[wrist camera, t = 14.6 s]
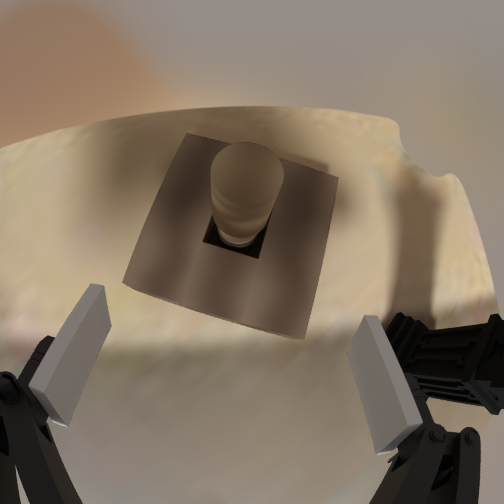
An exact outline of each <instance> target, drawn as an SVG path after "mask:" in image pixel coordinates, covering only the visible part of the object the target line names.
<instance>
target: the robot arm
mask: <svg viewBox="0 0 504 504" xmlns="http://www.w3.org/2000/svg"><path fill="white" fill-rule="evenodd" d="M110 329H111V321H110V316H109V311H108V306H107V300H106V295H105V289H104V286H103V285H97V284H92V283H91V284H90V285H89V287H88V288H87V290H86V291H85V293H84V294H83V296H82V297H81V298H80V300H79V301H78V303H77V304H76V306H75V307H74V309H73V311H72V312H71V314H70V315H69V317H68V318H67V320H66V321H65V323H64V325H63V326H62V328H61V329H60V331H59V333H58V334H57V336H56V337H51V336H46V337H45V338H44V339H43V340H41V341H40V342H39V344H38V345H37V347H36V349H35V350H34V352H33V354H32V355H31V358H30V359H29V360H28V362H27V364H26V365H25V367H24V369H23V371H22V372H21V374H20V376H19V378H18V380H17V379H16V377H15V376H14V375H13V374H12V373H10V372H7V371H4V372H0V504H21V502H20V496H19V490H18V484H17V476H16V468H17V471H18V474H19V477H20V480H21V482H22V485H23V488H24V490H25V493H26V496H27V498H28V500H29V503H30V504H83V503H82V501H81V499H80V498H79V496H78V494H77V492H76V490H75V488H74V486H73V484H72V482H71V480H70V477H69V475H68V473H67V471H66V469H65V467H64V464H63V462H62V460H61V457H60V455H59V452H58V450H57V447H56V445H55V442H54V440H53V437H52V434H51V431H50V429H49V426H48V424H47V422H46V421H47V418H48V416H49V417H50V418H51V419H52V421H53V422H55V423H57V424H60V425H62V426H65V427H68V426H69V423H70V421H71V418H72V415H73V413H74V410H75V408H76V405H77V403H78V400H79V398H80V395H81V393H82V390H83V388H84V386H85V383H86V381H87V379H88V376H89V374H90V372H91V369H92V367H93V365H94V363H95V360H96V358H97V356H98V354H99V352H100V350H101V347H102V345H103V343H104V341H105V339H106V337H107V335H108V333H109V331H110ZM347 354H348V357H349V360H350V363H351V367H352V370H353V373H354V376H355V380H356V383H357V386H358V390H359V393H360V397H361V400H362V404H363V407H364V411H365V414H366V418H367V422H368V425H369V429H370V433H371V437H372V441H373V444H374V448H375V452H376V455H379V454H385V453H390V452H391V451H393V450H394V449H395V448H396V447H397V448H398V453H397V454H395V455H394V456H393V457H392V458H391V459H389V461H388V463H390V462H391V461H392V463H391V465H390V467H389V469H388V471H387V473H386V475H385V477H384V479H383V481H382V482H381V484H380V486H379V488H378V489H377V491H376V493H375V495H374V496H373V498H372V500H371V501H370V503H369V504H478V497H479V485H480V462H481V456H480V455H481V450H480V449H481V448H480V447H481V446H480V445H481V443H480V435H479V434H478V432H477V431H476V430H475V429H474V428H472V427H466V428H464V429H463V430H462V431H461V432H460V433H456V432H447V431H446V430H445V429H444V427H442V426H441V425H439V424H436V423H434V421H433V418H432V416H431V413H430V411H429V408H428V406H427V404H426V401H425V399H424V398H423V394H422V392H421V391H420V387H419V385H418V383H417V380H416V379H415V378H414V377H413V376H412V375H411V374H410V373H403V372H402V369H401V367H400V365H399V362H398V360H397V358H396V356H395V353H394V351H393V349H392V347H391V345H390V342H389V340H388V338H387V336H386V334H385V332H384V330H383V327H382V325H381V323H380V321H379V319H378V317H377V316H370V315H364V317H363V319H362V321H361V324H360V326H359V328H358V330H357V332H356V334H355V336H354V338H353V340H352V342H351V344H350V346H349V348H348V350H347ZM15 465H16V468H15Z"/></svg>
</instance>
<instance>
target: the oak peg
mask: <svg viewBox="0 0 504 504" xmlns="http://www.w3.org/2000/svg"><path fill="white" fill-rule="evenodd" d="M283 179H284V170H283V166H282V164H281V162H280V160H279V158H278V157H277V156H276V155H275V154H274V153H273V152H272V151H271V150H269V149H268V148H266V147H264V146H262V145H259V144H256V143H250V142H241V143H235V144H232V145H229V146H227V147H225V148H224V149H222V150H221V151H220V152H219V153H218V154H217V155H216V157H215V158H214V160H213V162H212V165H211V195H212V214H213V219H214V221H215V224H216V225H217V230H218V238H219V240H220V242H221V244H222V245H223V246H224V247H225V248H226V249H227V250H230V251H234V252H237V253H240V252H243V251H244V250H246V249H247V248H249V247H250V246H251V245H252V244H253V243H254V241H255V239H256V236H257V234H258V233H259V232H260V231H261V230H262V229H263V228H264V226H265V225H266V223H267V221H268V218H269V216H270V213H271V211H272V208H273V206H274V203H275V201H276V198H277V196H278V193H279V191H280V189H281V186H282V183H283Z"/></svg>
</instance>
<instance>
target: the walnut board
mask: <svg viewBox="0 0 504 504" xmlns="http://www.w3.org/2000/svg"><path fill="white" fill-rule="evenodd" d="M229 145H232V144H229V143H225V142H221V141H217V140H213V139H209V138H205V137H201V136H197V135H192V134H188V133H187V134H186V136H185V138H184V140H183V142H182V143H181V145H180V147H179V149H178V151H177V153H176V155H175V157H174V159H173V162H172V164H171V166H170V168H169V170H168V172H167V174H166V176H165V178H164V180H163V183H162V185H161V187H160V189H159V191H158V194H157V196H156V198H155V200H154V203H153V205H152V207H151V210H150V212H149V214H148V217H147V219H146V221H145V224H144V226H143V229H142V231H141V234H140V236H139V239H138V241H137V244H136V246H135V249H134V252H133V254H132V257H131V260H130V262H129V265H128V268H127V270H126V273H125V276H124V279H123V282H122V283H124V284H125V285H127V286H129V287H131V288H132V289H134V290H137V291H139V292H142V293H145V294H148V295H150V296H153V297H156V298H159V299H162V300H165V301H168V302H170V303H173V304H176V305H179V306H182V307H185V308H188V309H191V310H195V311H198V312H201V313H204V314H207V315H210V316H213V317H217V318H220V319H223V320H227V321H230V322H233V323H237V324H240V325H243V326H247V327H250V328H254V329H257V330H261V331H265V332H268V333H272V334H276V335H279V336H283V337H287V338H291V339H304V338H305V334H306V330H307V326H308V322H309V318H310V314H311V310H312V306H313V302H314V298H315V294H316V289H317V285H318V281H319V276H320V272H321V267H322V262H323V258H324V253H325V248H326V243H327V238H328V233H329V228H330V223H331V218H332V212H333V207H334V201H335V196H336V190H337V184H338V177H335V176H332V175H329V174H326V173H324V172H321V171H318V170H315V169H312V168H309V167H306V166H303V165H300V164H297V163H294V162H291V161H288V160H284V159H281V158H279V160H280V162H281V164H282V166H283V170H284V179H283V183H282V186H281V189H280V191H279V193H278V196H277V198H276V201H275V203H274V206H273V208H272V211H271V213H270V216H269V218H268V221H267V223H266V228H265V231H264V235H263V238H262V242H261V245H260V249H259V252H258V256H257V258H253V257H250V256H247V255H243V254H240V253H237V252H234V251H230V250H227V249H224V248H220V247H217V246H214V245H211V244H208V243H209V240H210V237H211V234H212V231H213V228H214V225H215V221H214V219H213V214H212V195H211V165H212V162H213V160H214V158H215V157H216V155H217V154H218V153H219V152H220V151H221V150H222V149H224V148H225V147H227V146H229Z"/></svg>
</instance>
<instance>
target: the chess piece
mask: <svg viewBox="0 0 504 504" xmlns="http://www.w3.org/2000/svg"><path fill="white" fill-rule="evenodd" d="M385 334H386V336H387V338H388V340H389V342H390V345H391V347H392V349H393V351H394V353H395V356H396V358H397V360H398V362H399V365H400V367H401V369H402V372H403V373H410V374H411V375H412V376H413V377H414V378H415V379H416V380H417V383H418V385H419V387H420V391H421V392H422V394H423V398H424V399H425V401H427V399H428V398H429V397H431V398H436V399H441V400H447V401H452V402H458V403H464V404H470V405H477V406H484V407H485V408H486V409H487V410H488V411H489V412H490V413H491V414H494V415H498V414H499V412H500V410H501V409H504V320H502V319H501V317H500V316H499V314H492V315H490V317H489V320H488V323H484V324H477V325H470V326H462V327H455V328H446V329H437V330H429V329H428V328H427V327H426V326H425V325H424V324H423V323H422V322H421V321H420V320H416V321H415V320H414V319H412V318H411V317H410V316H405V315H404V314H402V313H401V312H399V313H397V314H396V316H395V317H394V319H393V321H392V322H391V324H390V325H389V327H388V329H387V330H386V332H385Z"/></svg>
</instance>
